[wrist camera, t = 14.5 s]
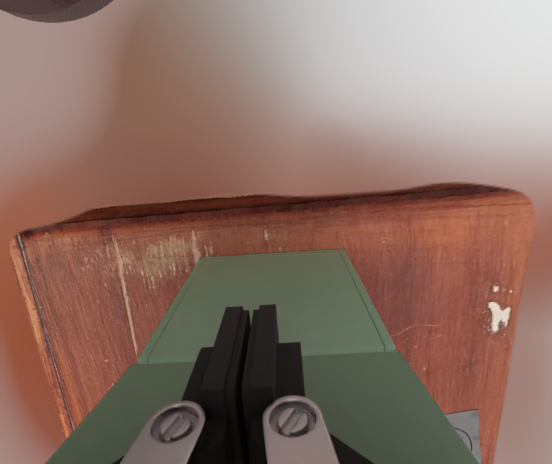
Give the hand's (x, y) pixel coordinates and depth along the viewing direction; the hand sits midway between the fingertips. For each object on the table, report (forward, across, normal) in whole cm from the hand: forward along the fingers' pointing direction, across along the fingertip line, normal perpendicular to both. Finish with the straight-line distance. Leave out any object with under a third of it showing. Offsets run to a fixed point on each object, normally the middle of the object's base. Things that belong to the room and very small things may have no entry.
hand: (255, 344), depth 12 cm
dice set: (+18, -15, +24) cm, 34 cm away
